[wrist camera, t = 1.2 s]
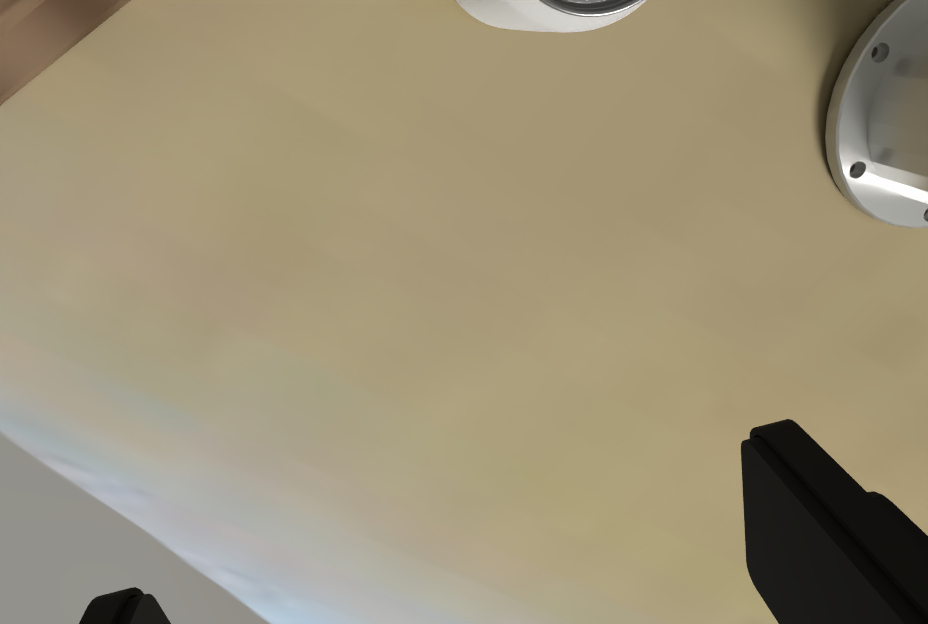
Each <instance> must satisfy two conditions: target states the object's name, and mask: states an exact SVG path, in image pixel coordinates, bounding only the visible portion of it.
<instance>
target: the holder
mask: <svg viewBox="0 0 928 624" xmlns="http://www.w3.org/2000/svg"><path fill="white" fill-rule="evenodd" d="M129 1H130V0H0V105H1V104H2V103H4V102H5V101H6V100H7V99H9V98H10V97H11V96H12V95H14V94H15V93H16V92H17V91H18V90H20V89H21V88H22V87H23V86H25V85H26V84H27V83H28V82H30V81H31V80H32V79H33V78H35V77H36V76H37V75H38V74H40V73H41V72H42V71H43V70H45V69H46V68H47V67H48V66H50V65H51V64H52V63H53V62H54V61H56V60H57V59H58V58H59V57H61V56H62V55H63V54H64V53H66V52H67V51H68V50H69V49H71V48H72V47H73V46H74V45H76V44H77V43H78V42H79V41H81V40H82V39H83V38H84V37H85V36H87V35H88V34H89V33H90V32H92V31H93V30H94V29H95V28H97V27H98V26H99V25H100V24H102V23H103V22H104V21H105V20H107V19H108V18H109V17H110V16H112V15H113V14H114V13H115V12H117V11H118V10H119V9H120V8H121V7H123V6H124V5H125V4H126V3H128V2H129Z"/></svg>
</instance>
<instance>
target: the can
mask: <svg viewBox="0 0 928 624" xmlns="http://www.w3.org/2000/svg"><path fill="white" fill-rule="evenodd" d="M456 1H457V2H458V4H459V5H460V6H461V7H462V8H463V9H464V10H465V11H466V12H468V13H469V14H470V15H471V16H473V17H474V18H476V19H478V20H479V21H481V22H483V23H485V24H488V25H491V26H494V27H499V28H504V29H514V30H527V31H544V32H581V31H588V30H593V29H597V28H600V27H603V26H606V25H609V24H611V23H613V22H616V21H618V20H620V19H622V18H623V17H625V16H627V15H628V14H630V13H631V12H633V11H634V10H635V9H637V8H638V7H639V6H640V5H642V4H643V3H644V2H645V1H646V0H456Z"/></svg>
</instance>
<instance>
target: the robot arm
mask: <svg viewBox="0 0 928 624" xmlns="http://www.w3.org/2000/svg"><path fill="white" fill-rule="evenodd" d="M825 141H826V151H827V160H828V163H829V167H830V170H831V173H832V176H833V179H834V181H835V183H836V184H837V186H838V188H839V189H840V191H841V193H842V194H843V196H844V197H845V198H846V199H847V200H848V201H849V202H850V203H851V204H852V205H853V206H854V207H855V208H856V209H858V210H859V211H861V212H863V213H865V214H866V215H868V216H870V217H872V218H874V219H877V220H880V221H882V222H885V223H888V224H890V225H894V226H900V227H907V228H928V0H894V1H893V2H892V3H891V4H890V5H889V6H887V7H886V8H885V9H884V10H883V11H882V12H881V13H880V14H879V15H878V16H877V17H876V18H875V19H874V21H873V22H872V23H871V24H870V26H869V27H868V28H867V29H866V30H865V32H864V33H863V34H862V35H861V37H860V38H859V39H858V41H857V43H856V44H855V46H854V48H853V49H852V51H851V53H850V54H849V56H848V58H847V59H846V61H845V63H844V65H843V67H842V70H841V72H840V74H839V77H838V79H837V81H836V84H835V86H834V89H833V93H832V97H831V101H830V104H829V108H828V112H827V122H826V134H825ZM741 460H742V480H743V501H744V522H745V542H746V562H747V568H748V572H749V575H750V577H751V580H752V582H753V584H754V586H755V587H756V589H757V591H758V592H759V594H760V595H761V597H762V598H763V600H764V601H765V603H766V604H767V606H768V608H769V609H770V611H771V612H772V614H773V615H774V617H775V618H776V620H777V621H778V623H779V624H928V536H927V535H926V534H925V533H924V532H923V531H922V530H921V529H920V528H919V527H918V526H917V525H916V524H914V523H913V522H912V521H911V520H910V519H909V518H908V517H907V516H906V515H905V514H904V513H903V512H902V511H901V510H900V509H899V508H898V507H897V506H896V505H895V504H894V503H892V502H891V501H890V500H889V499H887V498H886V497H885V496H883V495H882V494H879V493H877V492H874V491H873V492H866V491H865V490H864V489H863V488H862V487H861V486H860V485H859V484H858V483H857V482H856V481H855V480H854V479H853V478H852V477H851V476H850V475H849V474H848V473H847V472H846V471H845V470H844V469H843V468H842V467H841V466H840V465H839V464H838V463H837V462H836V461H835V460H834V459H833V458H832V457H831V456H830V455H828V454H827V453H826V452H825V451H824V450H823V449H822V448H821V447H820V446H819V445H818V444H817V443H816V442H815V441H814V440H813V439H812V438H811V437H810V436H809V435H808V434H807V433H806V432H805V431H804V430H803V429H802V428H801V427H800V426H799V425H798V424H797V423H796V422H794V421H793V420H790V419H786V420H783V421H779V422H775V423H771V424H767V425H763V426H759V427H755V428H753V429H752V430H751V432H750V439H748V440H744V441H742V443H741ZM79 624H171V623H170V621H169V620H168V619H167V617H166V615H165V613H164V612H163V610H162V609H161V607H160V605H159V604H158V602H157V601H156V599H155V598H154V597H153V596H152V595H151V594H144V593H143V592H142V591H141V590H140V589H138V588H136V587H134V588H129V589H125V590H121V591H117V592H114V593H110V594H105V595H102V596H98V597H96V598H95V599H93V600H92V601H91V603H90V604H89V605H88V607H87V609H86V611H85V613H84V615H83V617H82V619H81V621H80V623H79Z"/></svg>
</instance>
